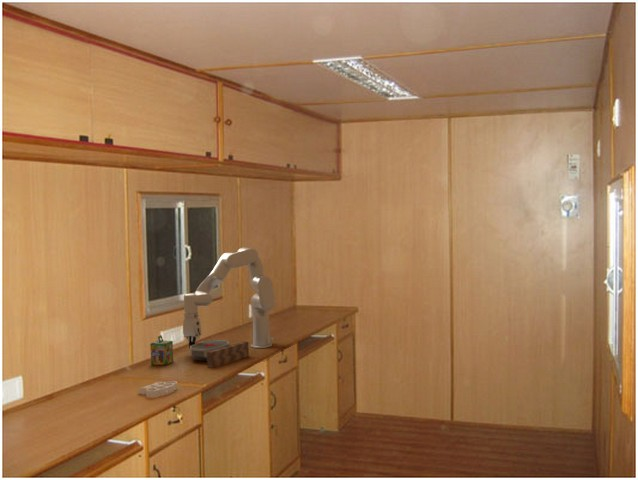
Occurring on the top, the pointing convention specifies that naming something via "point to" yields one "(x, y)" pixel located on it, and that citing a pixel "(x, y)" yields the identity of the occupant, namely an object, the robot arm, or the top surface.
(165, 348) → the chalk box
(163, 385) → the white muffin tray
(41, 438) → the top surface
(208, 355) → the walnut board
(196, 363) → the top surface
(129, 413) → the top surface
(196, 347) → the first aid kit
